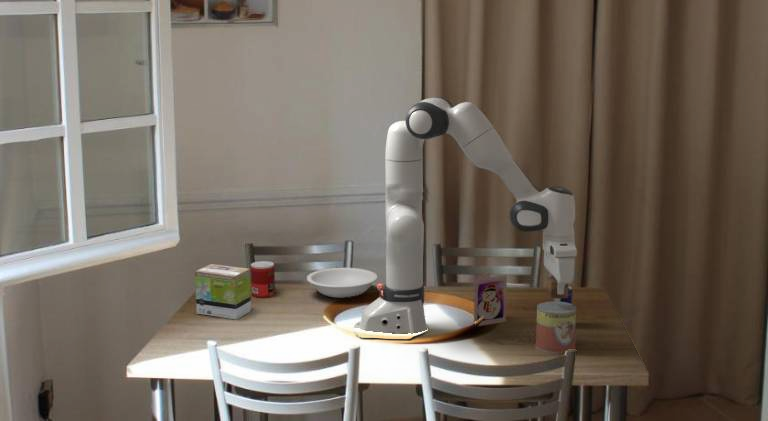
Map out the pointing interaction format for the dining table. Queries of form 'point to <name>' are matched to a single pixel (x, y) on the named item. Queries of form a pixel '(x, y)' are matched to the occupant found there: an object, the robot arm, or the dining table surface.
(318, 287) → the soup bowl
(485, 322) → the greeting card
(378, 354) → the dining table surface
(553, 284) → the walnut block
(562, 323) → the canned food
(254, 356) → the dining table surface
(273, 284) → the canned food
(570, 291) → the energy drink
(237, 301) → the tea box
